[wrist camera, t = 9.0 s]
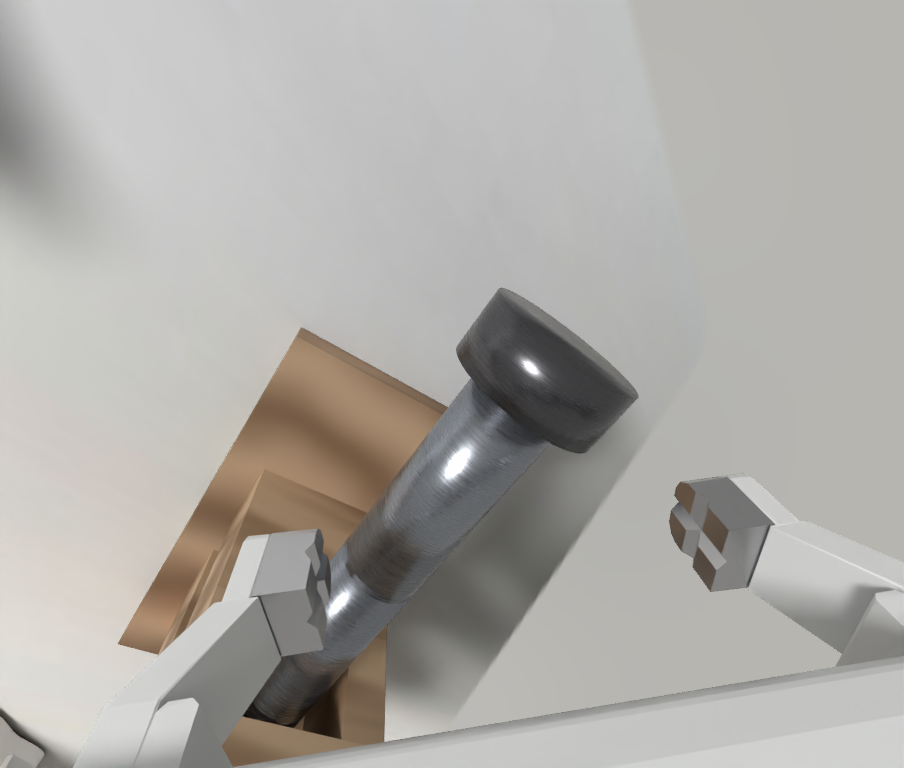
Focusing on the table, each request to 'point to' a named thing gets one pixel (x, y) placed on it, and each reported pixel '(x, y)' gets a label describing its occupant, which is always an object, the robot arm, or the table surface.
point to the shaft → (454, 482)
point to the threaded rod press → (295, 523)
